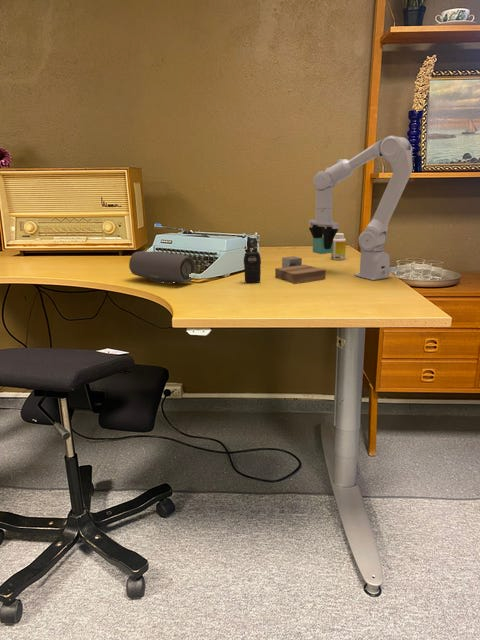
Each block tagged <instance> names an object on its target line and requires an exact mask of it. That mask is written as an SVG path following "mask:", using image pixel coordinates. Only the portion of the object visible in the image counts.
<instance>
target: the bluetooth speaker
mask: <svg viewBox="0 0 480 640" xmlns="http://www.w3.org/2000/svg"><path fill="white" fill-rule="evenodd" d="M128 267H129V270H130V272H131V273H132V274H133V275H134V276H137V277H142V278H146V279H149V281H150V282H152V281H154V282H153V283H157V282H164V283H173V282H176V283H189V282H191V281H192V280H193V279H194V278H191V277H189V274H191V273H195V272H196V273H197V265H196V263H195V260H194V259H193V257H191V256H189V255H183V254H178V253H171V252H169V253H168V252H163V251H135V252H134V253H132V255H131V257H130V258H129V263H128ZM196 273H195V274H196ZM164 283H163V284H164Z"/></svg>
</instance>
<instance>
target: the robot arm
mask: <svg viewBox="0 0 480 640" xmlns="http://www.w3.org/2000/svg"><path fill="white" fill-rule="evenodd" d="M377 158H385V160H387V162H388V163H389V165H390V167H391V169H392V174H391V177H390V178H389V181H388V183H387V185H386V188H385V190H384V192H383V194H382V197H381V199H380V201H379V203H378V206H377V209H375V212H374V215H373V217H372V219H371V220H370V221H369V223H367V225H366V227H365V229H364V231H362V232H361V233H360V234H359V236H358V240H357V241H358V245H359V247H360V258H359V259H360V260H359V272H358V273H357V272H356V273H354V274H353V276H355V277H356V276H357V277H359V278H364V279H367V280H372V281H376V280H383V279H387V278H388V279H389V278H392V275H390V270H391V269H390V267H391V258H390V254H389V253H387V252H386V251H384V245H385V243H386V242H387V238H388V237H387V234H388V231H389V223H390V220H391V219H392V217H393V215H394V212H395V209H396V207H397V205H398V203H399V202H400V201H399V200H401V197H402V194H403V192H404V190H405V188H406V185H407V184H408V182H409V179H410V178H411V175H412V172H413V169H414V167H413V146H412V144H411V143H410V141H409V140H408V138H406V137H403V136H396V135H388V136H386V137H385V138H383V139H381V140H378V141H376V142H375V143H373V144H372V145H370V146H369V147H367V148H366V149H364V150H362V151H361V152H360V153H358V154H357V155H355V156H353V157H352V158H351V159H346V158H344V159H341V158H340V159H338V160H337V161H336V162H337V163H335V164H333V165H332V166H330V167H326V168H325V171H318V172H317V173H316V174H315V175H314V176H313V180H312V184H313V186H314V188H315V207H314V208H315V210H314V212H315V213H314V214H315V215H314V219H308V226H310V227H309V228H308V230H309V232H310V233H311V237H312V239H313V238H319V237H324V247H325V249H331V246H332V242H333V239H334V237H335V235H336V233H338V232H339V229H340V222H336V221H335V220H333V198H334V194H333V193H334V192H333V191H334V188H335V187H336V185H337V184H339V183H341V182H342V181H344V180H346V179H347V178H349V177H351V176H352V175H353V174H354V171H355V169H357V168H360V167H361V166H363V165H364V164H366V163H368V162H370V161H373V160H374V159H377Z"/></svg>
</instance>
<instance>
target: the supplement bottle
mask: <svg viewBox="0 0 480 640" xmlns="http://www.w3.org/2000/svg"><path fill="white" fill-rule="evenodd" d="M346 243H347V239H346V238H345V234H344V233H342V232H337V233H336V235H335V237H334V239H333V253H330V258H331V259H332V260H335V261H343V260H345V259H346V248H347V246H346Z"/></svg>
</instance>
